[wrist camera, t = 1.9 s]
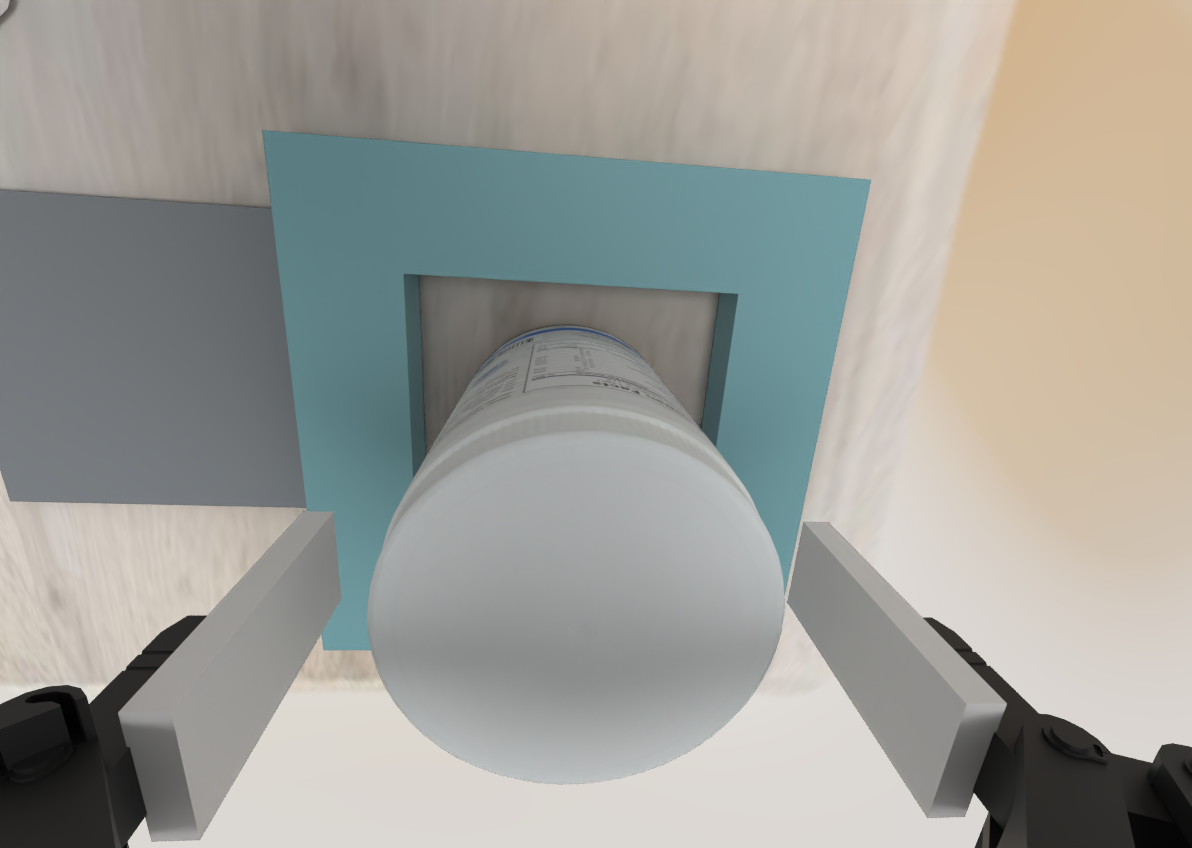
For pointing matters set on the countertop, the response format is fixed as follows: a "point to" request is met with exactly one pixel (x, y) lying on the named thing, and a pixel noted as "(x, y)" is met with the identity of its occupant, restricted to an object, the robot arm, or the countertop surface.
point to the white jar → (3, 6)
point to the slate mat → (143, 354)
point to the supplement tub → (573, 572)
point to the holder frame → (543, 254)
